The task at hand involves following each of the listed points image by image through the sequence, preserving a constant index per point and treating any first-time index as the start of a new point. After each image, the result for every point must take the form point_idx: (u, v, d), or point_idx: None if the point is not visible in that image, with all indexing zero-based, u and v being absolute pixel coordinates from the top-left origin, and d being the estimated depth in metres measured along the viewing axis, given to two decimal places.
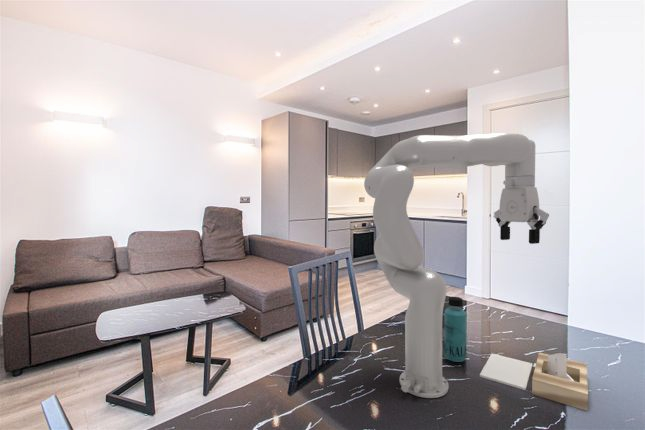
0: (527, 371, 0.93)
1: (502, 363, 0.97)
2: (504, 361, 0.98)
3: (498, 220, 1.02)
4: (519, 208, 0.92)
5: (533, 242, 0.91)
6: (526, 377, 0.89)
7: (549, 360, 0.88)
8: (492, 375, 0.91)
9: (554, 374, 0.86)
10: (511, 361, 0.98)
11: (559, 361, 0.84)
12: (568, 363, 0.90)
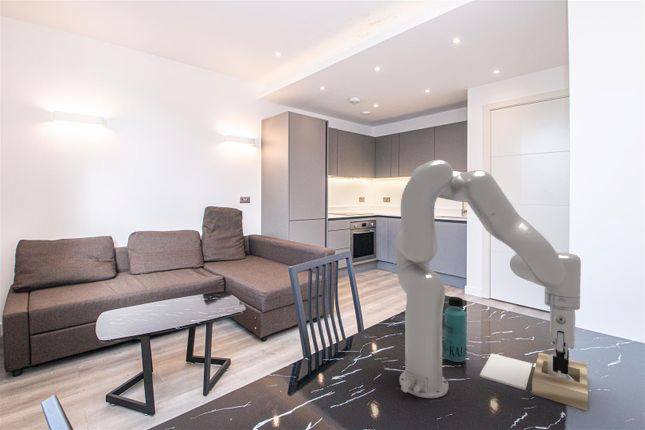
0: (527, 371, 0.93)
1: (502, 363, 0.97)
2: (504, 361, 0.98)
3: None
4: None
5: None
6: (526, 377, 0.89)
7: (549, 360, 0.88)
8: (492, 375, 0.91)
9: (554, 374, 0.86)
10: (511, 361, 0.98)
11: None
12: None
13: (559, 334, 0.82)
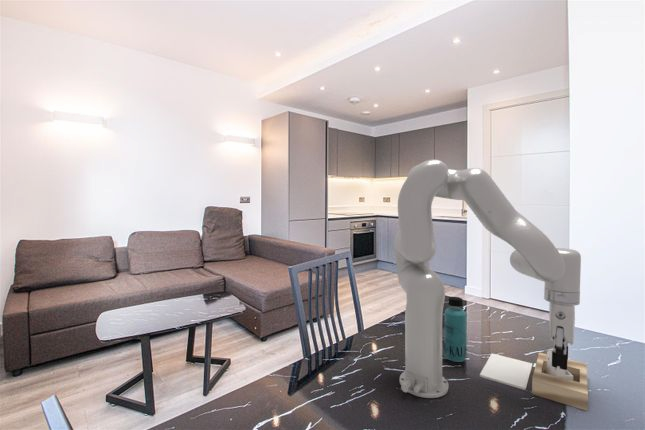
0: (527, 371, 0.93)
1: (502, 363, 0.97)
2: (504, 361, 0.98)
3: None
4: None
5: None
6: (526, 377, 0.89)
7: (548, 356, 0.88)
8: (492, 375, 0.91)
9: (553, 369, 0.86)
10: (511, 361, 0.98)
11: None
12: (568, 363, 0.90)
13: (558, 329, 0.82)
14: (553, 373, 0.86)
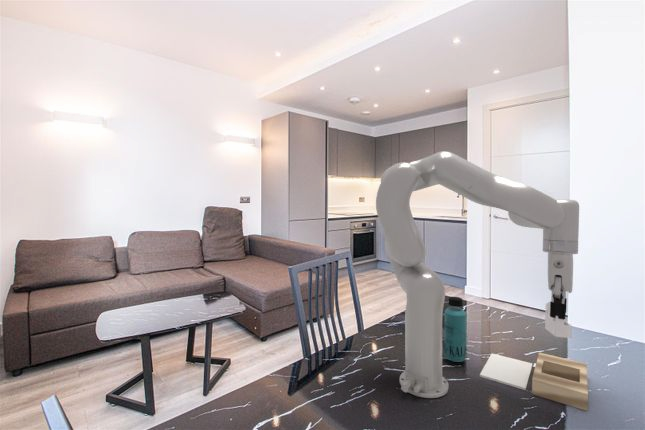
0: (527, 371, 0.93)
1: (502, 363, 0.97)
2: (504, 361, 0.98)
3: None
4: None
5: None
6: (526, 377, 0.89)
7: (547, 308, 0.88)
8: (492, 375, 0.91)
9: (552, 321, 0.86)
10: (511, 361, 0.98)
11: None
12: (568, 363, 0.90)
13: (557, 278, 0.82)
14: (551, 324, 0.86)
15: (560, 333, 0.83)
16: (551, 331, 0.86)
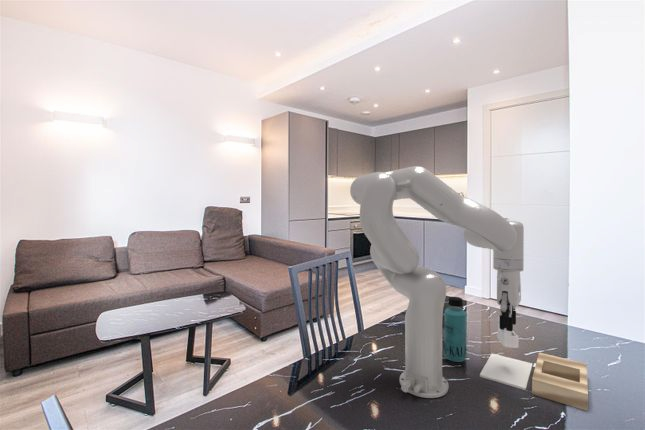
0: (527, 371, 0.93)
1: (502, 363, 0.97)
2: (504, 361, 0.98)
3: (508, 311, 0.89)
4: (520, 288, 0.93)
5: None
6: (526, 377, 0.89)
7: (498, 320, 0.96)
8: (492, 375, 0.91)
9: (501, 332, 0.93)
10: (511, 361, 0.98)
11: None
12: (568, 363, 0.90)
13: (503, 294, 0.90)
14: (501, 335, 0.93)
15: (508, 343, 0.91)
16: (501, 341, 0.93)
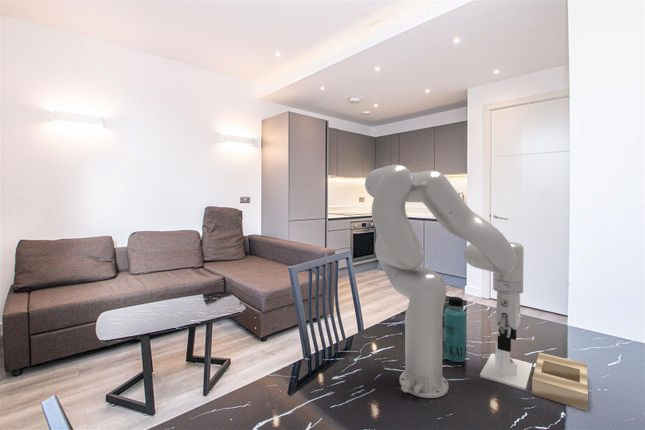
0: (527, 371, 0.93)
1: None
2: None
3: (506, 332, 0.88)
4: (519, 310, 0.94)
5: None
6: (526, 377, 0.89)
7: (496, 346, 0.96)
8: (492, 375, 0.91)
9: (500, 359, 0.93)
10: None
11: None
12: (568, 363, 0.90)
13: (503, 314, 0.90)
14: (500, 362, 0.93)
15: (506, 371, 0.91)
16: (499, 368, 0.93)
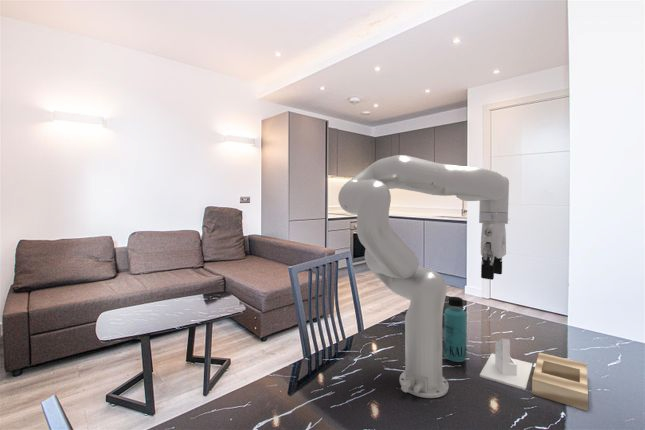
0: (527, 371, 0.93)
1: None
2: None
3: None
4: (505, 243, 0.96)
5: None
6: (526, 377, 0.89)
7: (496, 346, 0.96)
8: (492, 375, 0.91)
9: (500, 359, 0.93)
10: None
11: (503, 347, 0.91)
12: (568, 363, 0.90)
13: (487, 243, 0.92)
14: (500, 362, 0.93)
15: (506, 371, 0.91)
16: (499, 368, 0.93)
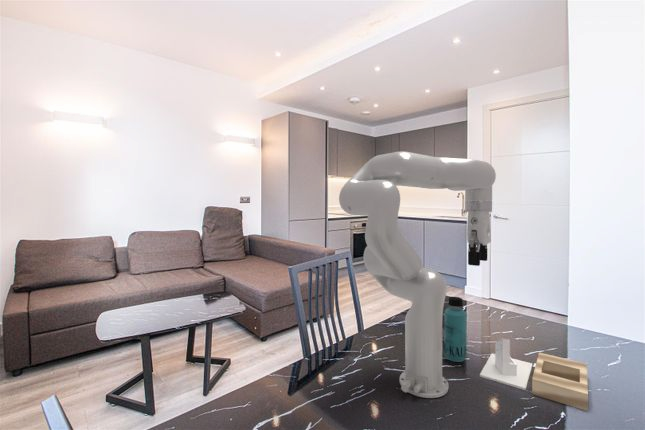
0: (527, 371, 0.93)
1: None
2: None
3: (475, 246, 0.94)
4: (489, 230, 1.00)
5: None
6: (526, 377, 0.89)
7: (496, 346, 0.96)
8: (492, 375, 0.91)
9: (500, 359, 0.93)
10: None
11: (503, 347, 0.91)
12: (568, 363, 0.90)
13: (473, 231, 0.96)
14: (500, 362, 0.93)
15: (506, 371, 0.91)
16: (499, 368, 0.93)
